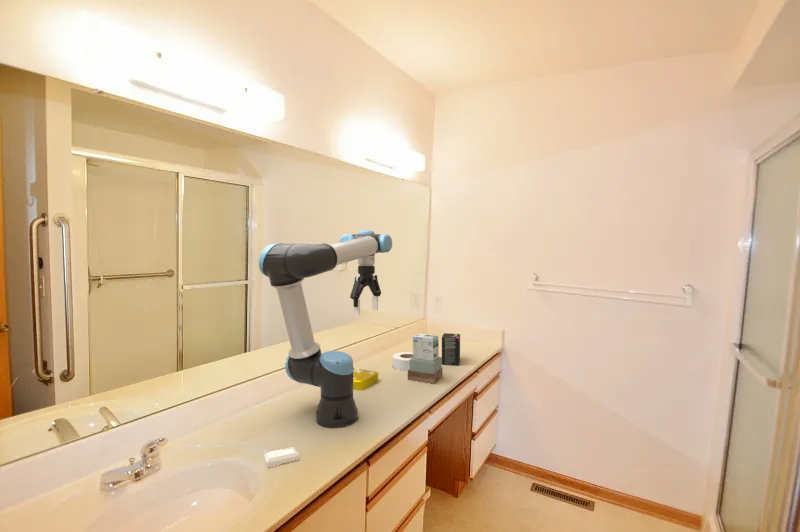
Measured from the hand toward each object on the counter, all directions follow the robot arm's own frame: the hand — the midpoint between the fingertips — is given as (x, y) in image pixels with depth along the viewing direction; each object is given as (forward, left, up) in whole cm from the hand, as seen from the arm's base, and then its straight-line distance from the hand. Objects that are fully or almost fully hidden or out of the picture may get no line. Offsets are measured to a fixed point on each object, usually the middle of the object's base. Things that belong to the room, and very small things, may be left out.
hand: (366, 312), depth 182 cm
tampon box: (+48, -21, -32) cm, 62 cm away
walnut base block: (+18, -21, -33) cm, 43 cm away
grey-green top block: (+18, -21, -28) cm, 39 cm away
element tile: (-2, +3, -33) cm, 33 cm away
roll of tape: (+31, -4, -33) cm, 45 cm away
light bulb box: (+18, -21, -23) cm, 36 cm away
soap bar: (-67, -17, -33) cm, 76 cm away
